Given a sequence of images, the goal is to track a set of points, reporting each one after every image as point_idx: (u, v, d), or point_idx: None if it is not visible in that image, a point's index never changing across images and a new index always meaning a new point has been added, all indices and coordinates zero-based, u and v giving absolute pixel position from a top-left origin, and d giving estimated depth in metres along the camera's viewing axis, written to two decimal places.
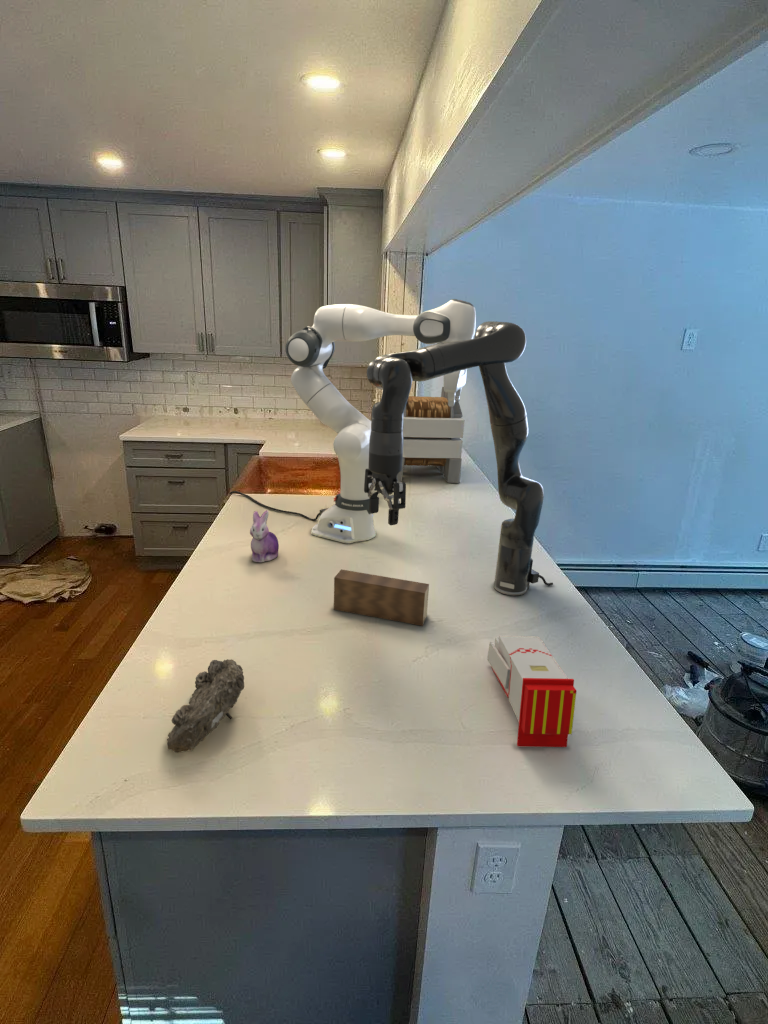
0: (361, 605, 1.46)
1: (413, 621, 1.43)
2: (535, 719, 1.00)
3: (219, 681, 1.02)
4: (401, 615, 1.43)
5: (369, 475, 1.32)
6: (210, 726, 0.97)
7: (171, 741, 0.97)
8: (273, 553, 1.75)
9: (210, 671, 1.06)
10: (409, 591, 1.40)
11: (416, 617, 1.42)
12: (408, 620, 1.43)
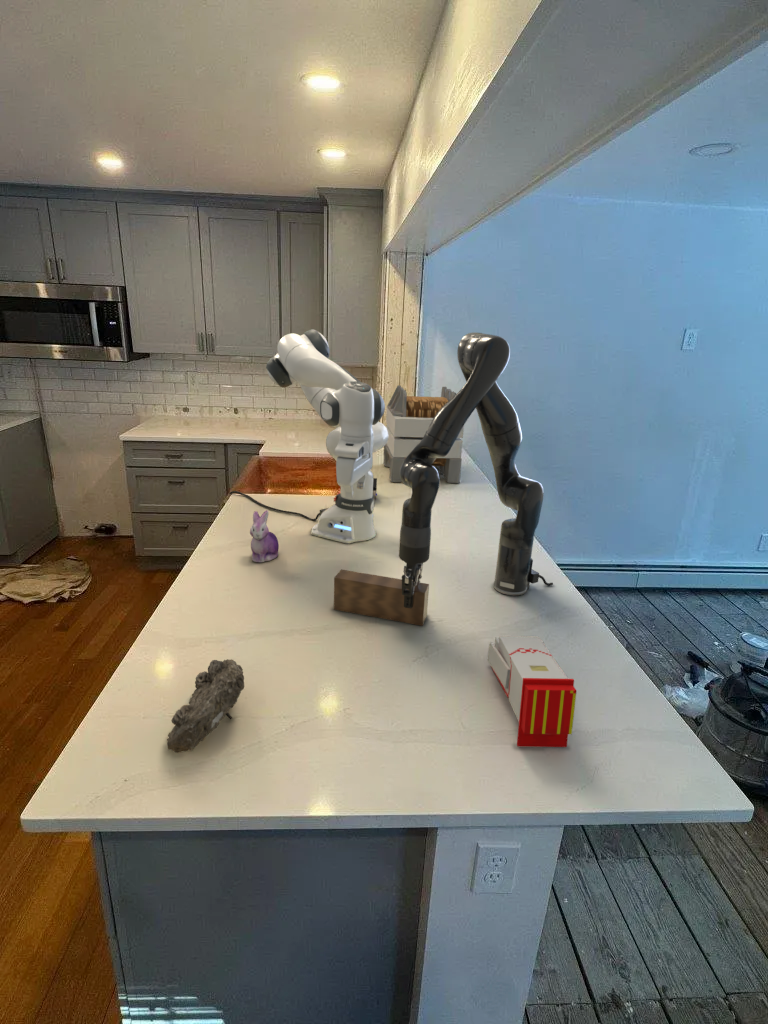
0: (361, 605, 1.46)
1: (413, 621, 1.43)
2: (535, 719, 1.00)
3: (219, 681, 1.02)
4: (401, 615, 1.43)
5: None
6: (210, 726, 0.97)
7: (171, 741, 0.97)
8: (273, 553, 1.75)
9: (210, 671, 1.06)
10: None
11: (416, 617, 1.42)
12: (408, 620, 1.43)
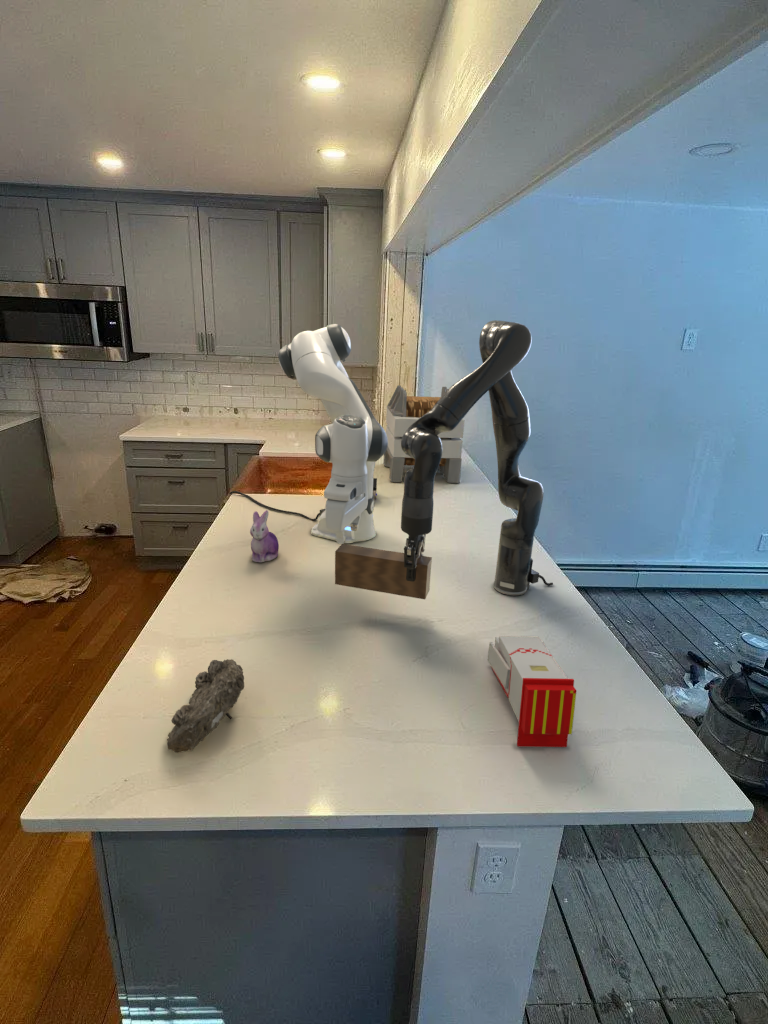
0: (362, 580, 1.43)
1: (416, 595, 1.40)
2: (535, 719, 1.00)
3: (219, 681, 1.02)
4: (404, 588, 1.41)
5: None
6: (210, 726, 0.97)
7: (171, 741, 0.97)
8: (273, 553, 1.75)
9: (210, 671, 1.06)
10: None
11: (419, 591, 1.40)
12: (410, 594, 1.41)
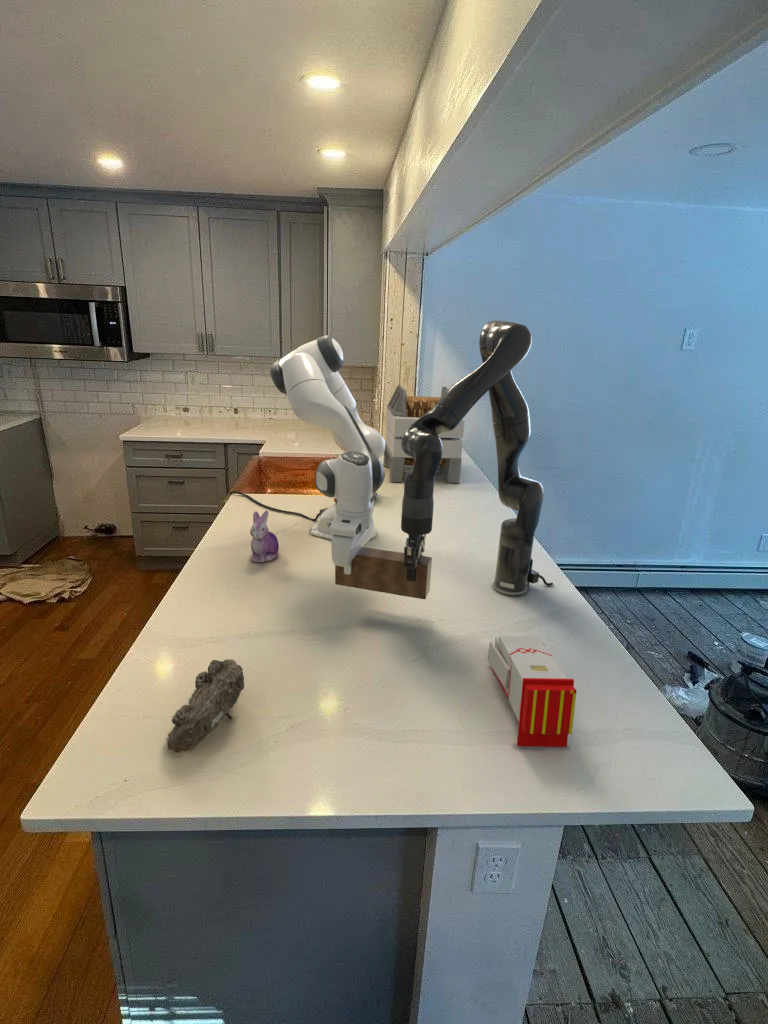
0: (363, 580, 1.43)
1: (416, 595, 1.40)
2: (535, 719, 1.00)
3: (219, 681, 1.02)
4: (404, 588, 1.41)
5: None
6: (210, 726, 0.97)
7: (171, 741, 0.97)
8: (273, 553, 1.75)
9: (210, 671, 1.06)
10: None
11: (419, 591, 1.40)
12: (410, 594, 1.41)
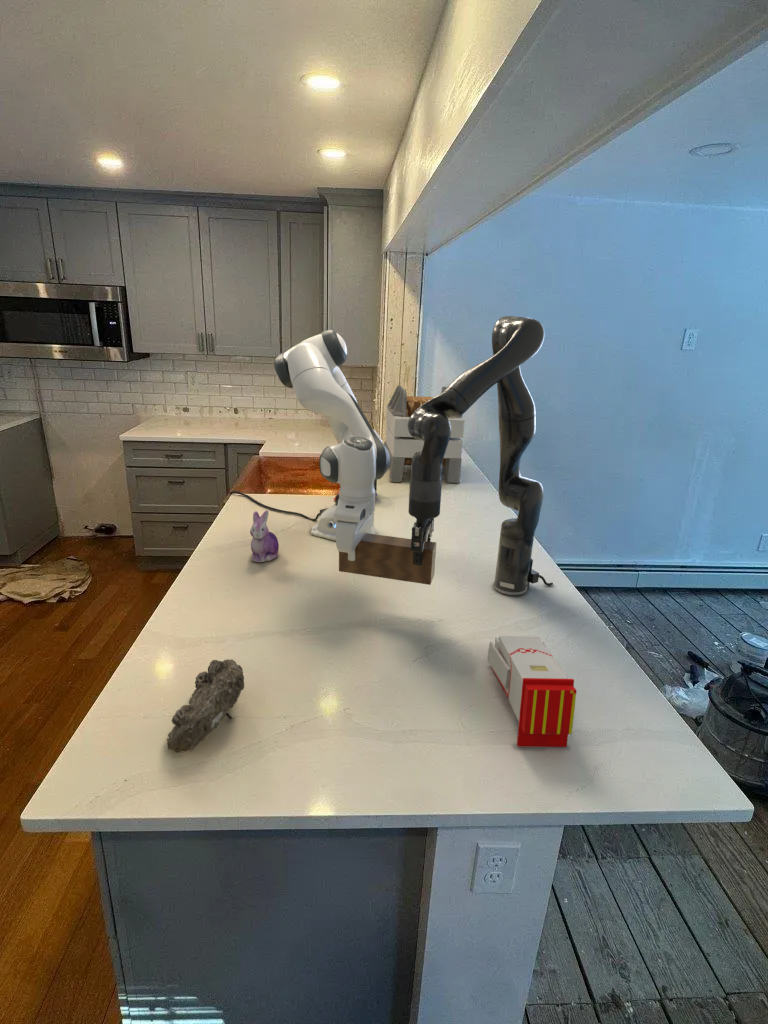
0: (367, 566, 1.42)
1: (421, 581, 1.40)
2: (535, 719, 1.00)
3: (219, 681, 1.02)
4: (409, 574, 1.40)
5: None
6: (210, 726, 0.97)
7: (171, 741, 0.97)
8: (273, 553, 1.75)
9: (210, 671, 1.06)
10: None
11: (424, 576, 1.39)
12: (415, 579, 1.40)
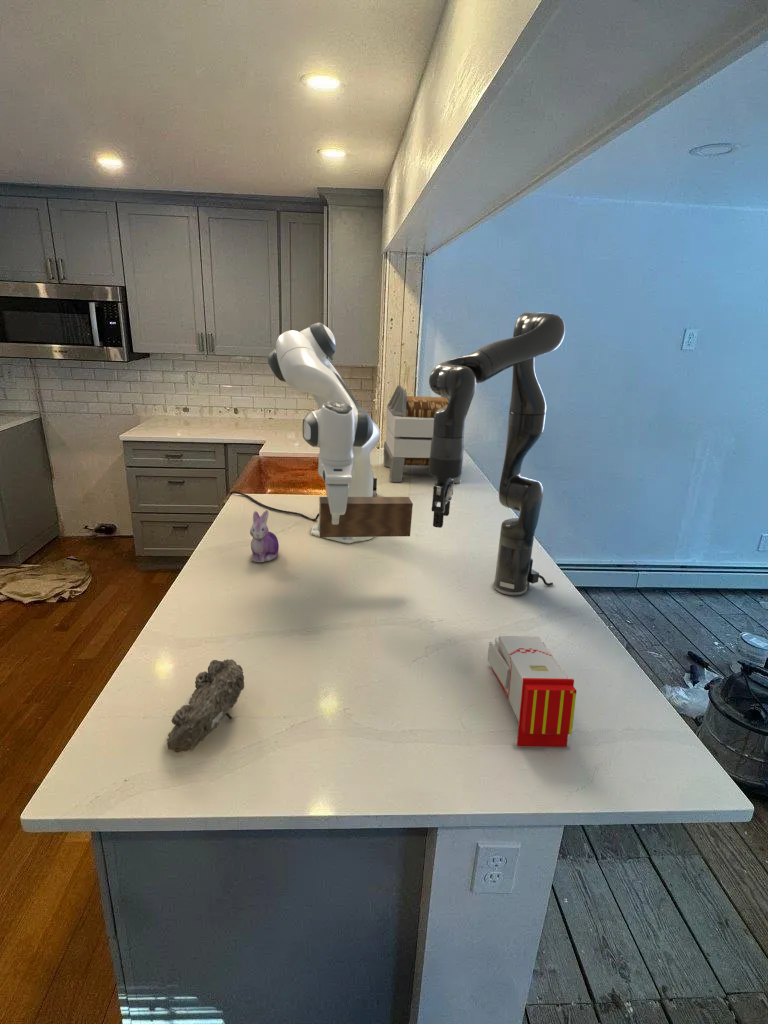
0: (349, 528, 1.46)
1: (401, 534, 1.49)
2: (535, 719, 1.00)
3: (219, 681, 1.02)
4: (390, 529, 1.48)
5: None
6: (210, 726, 0.97)
7: (171, 741, 0.97)
8: (273, 553, 1.75)
9: (210, 671, 1.06)
10: (397, 504, 1.46)
11: (404, 529, 1.49)
12: (396, 533, 1.49)
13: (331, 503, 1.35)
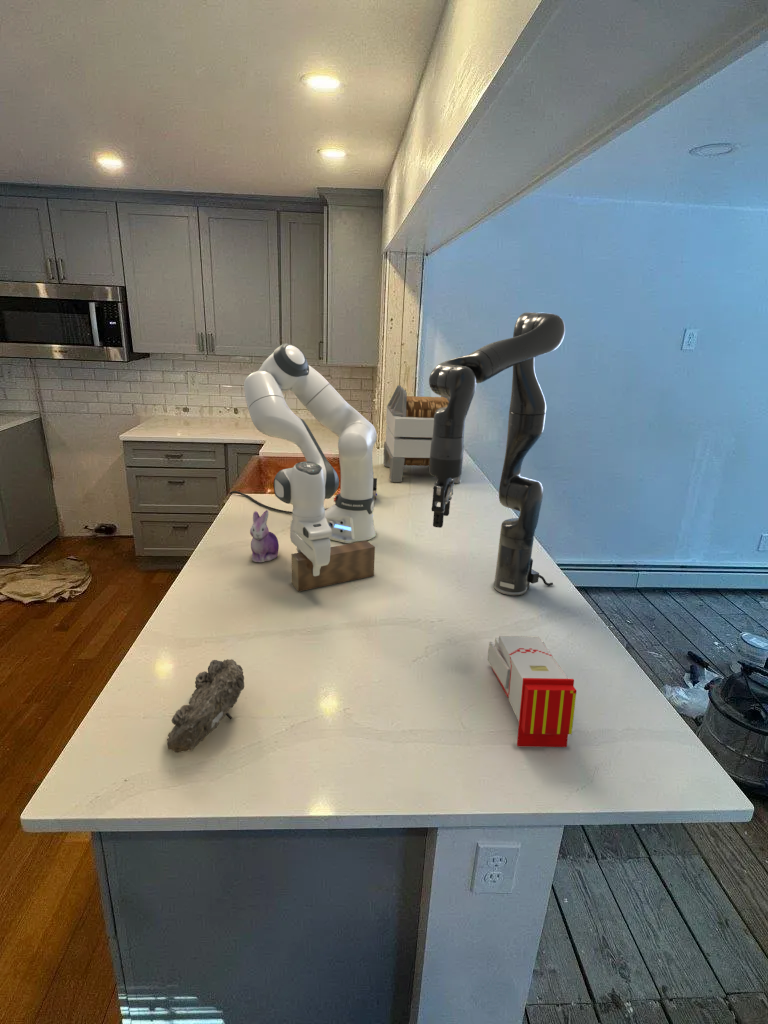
0: (323, 578, 1.59)
1: (367, 575, 1.67)
2: (535, 719, 1.00)
3: (219, 681, 1.02)
4: (357, 573, 1.65)
5: None
6: (210, 726, 0.97)
7: (171, 741, 0.97)
8: (273, 553, 1.75)
9: (210, 671, 1.06)
10: (362, 550, 1.63)
11: (369, 570, 1.66)
12: (362, 575, 1.66)
13: (317, 557, 1.47)
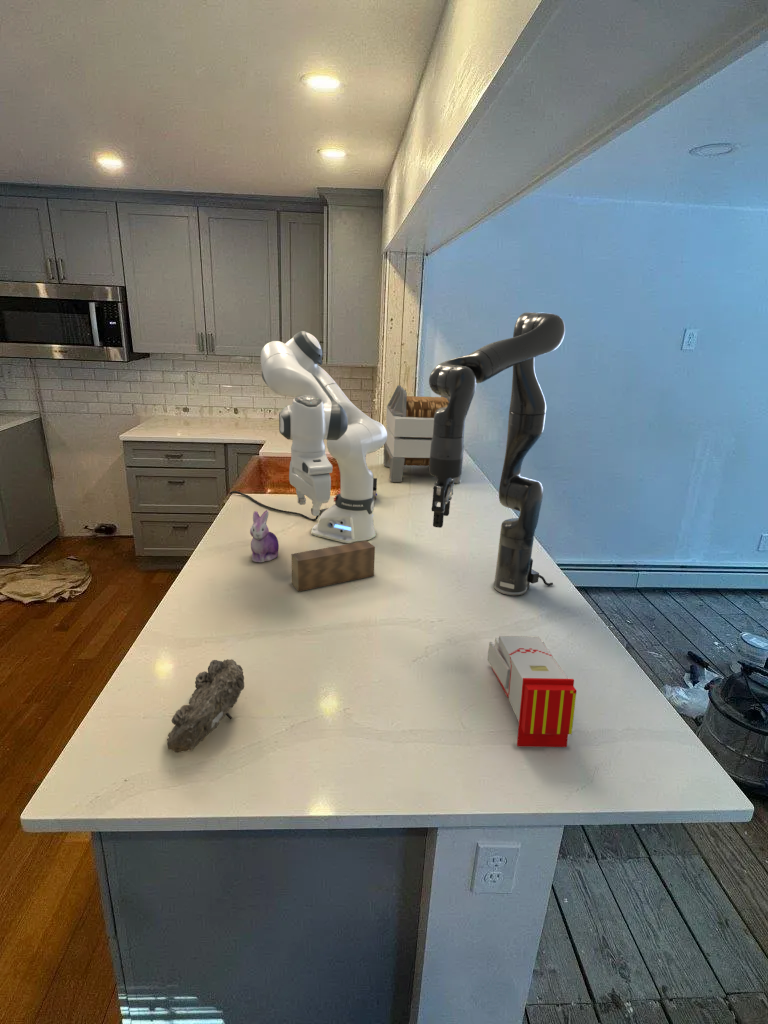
0: (323, 578, 1.59)
1: (367, 575, 1.67)
2: (535, 719, 1.00)
3: (219, 681, 1.02)
4: (357, 573, 1.65)
5: None
6: (210, 726, 0.97)
7: (171, 741, 0.97)
8: (273, 553, 1.75)
9: (210, 671, 1.06)
10: (362, 550, 1.63)
11: (369, 570, 1.66)
12: (362, 575, 1.66)
13: (317, 492, 1.41)
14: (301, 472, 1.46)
